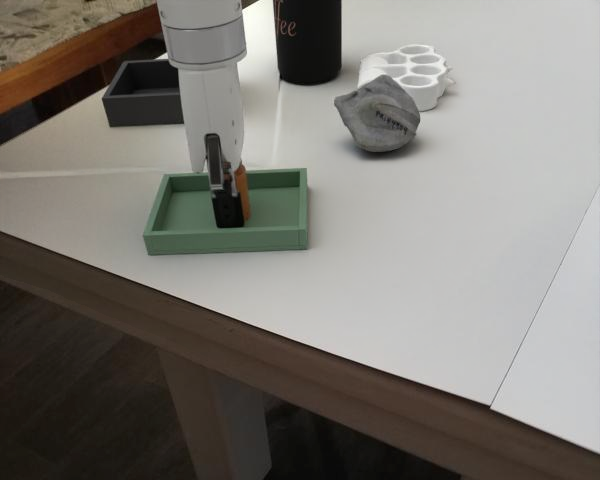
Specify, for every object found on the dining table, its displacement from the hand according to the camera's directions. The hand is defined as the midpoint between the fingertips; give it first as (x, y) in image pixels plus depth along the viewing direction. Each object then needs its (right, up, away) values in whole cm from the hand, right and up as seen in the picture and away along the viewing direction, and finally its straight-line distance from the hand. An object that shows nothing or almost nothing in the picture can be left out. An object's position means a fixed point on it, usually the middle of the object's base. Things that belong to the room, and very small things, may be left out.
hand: (232, 213), depth 69 cm
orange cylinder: (0, 0, 0) cm, 0 cm away
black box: (-13, +23, +23) cm, 35 cm away
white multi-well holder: (+24, +27, +24) cm, 44 cm away
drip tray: (0, -1, +1) cm, 1 cm away
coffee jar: (+10, +33, +30) cm, 45 cm away
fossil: (+18, +13, +12) cm, 25 cm away
